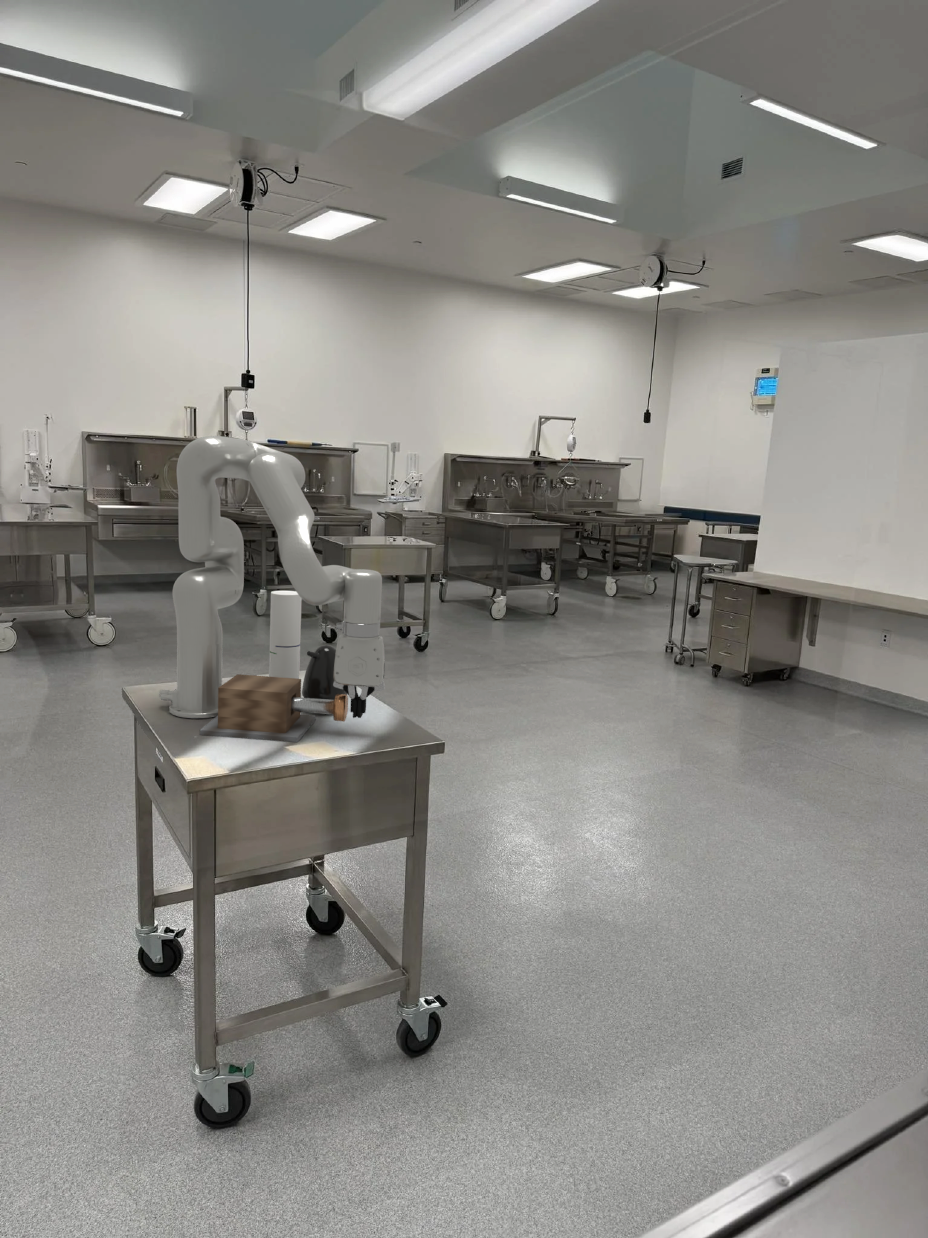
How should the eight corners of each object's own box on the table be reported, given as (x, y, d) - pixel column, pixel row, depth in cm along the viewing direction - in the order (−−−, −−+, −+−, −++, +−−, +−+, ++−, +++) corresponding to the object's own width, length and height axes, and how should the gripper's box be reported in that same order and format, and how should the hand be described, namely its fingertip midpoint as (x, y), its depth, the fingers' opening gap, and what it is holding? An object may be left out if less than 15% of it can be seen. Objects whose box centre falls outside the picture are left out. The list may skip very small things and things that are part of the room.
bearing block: (199, 734, 168) (200, 689, 166) (226, 713, 184) (226, 671, 182) (297, 742, 167) (298, 696, 165) (315, 719, 183) (317, 677, 181)
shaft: (246, 717, 172) (247, 691, 171) (254, 710, 178) (255, 684, 177) (342, 724, 171) (343, 698, 170) (347, 717, 177) (348, 691, 176)
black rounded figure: (291, 708, 190) (293, 643, 187) (326, 701, 198) (329, 638, 195) (320, 719, 183) (322, 651, 181) (355, 711, 191) (358, 646, 189)
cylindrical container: (291, 700, 197) (294, 595, 193) (263, 696, 198) (265, 593, 194) (303, 693, 204) (306, 592, 200) (276, 689, 205) (278, 589, 201)
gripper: (321, 630, 167) (318, 718, 170) (395, 635, 167) (390, 724, 170) (329, 624, 175) (326, 708, 178) (399, 629, 174) (395, 713, 177)
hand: (357, 715), depth 174 cm, fingers closed
